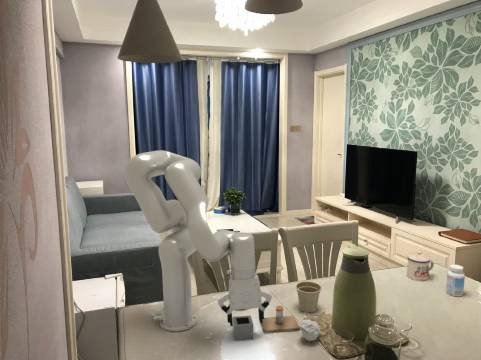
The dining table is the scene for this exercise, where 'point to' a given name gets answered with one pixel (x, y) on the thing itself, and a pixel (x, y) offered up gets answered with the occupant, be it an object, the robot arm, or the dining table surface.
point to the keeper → (279, 323)
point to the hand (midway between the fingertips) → (245, 322)
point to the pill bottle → (455, 280)
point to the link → (242, 328)
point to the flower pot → (308, 295)
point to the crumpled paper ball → (309, 330)
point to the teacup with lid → (419, 266)
